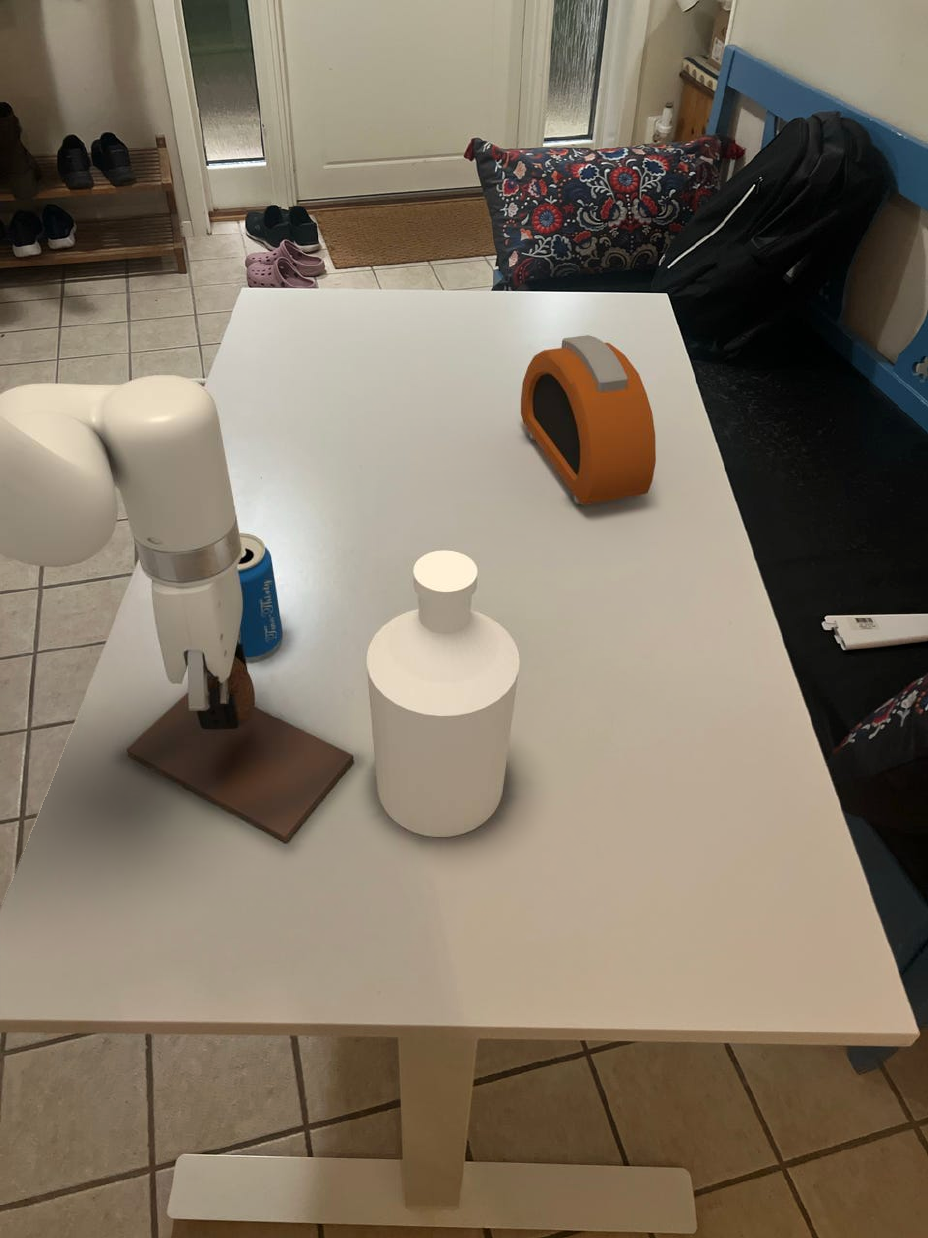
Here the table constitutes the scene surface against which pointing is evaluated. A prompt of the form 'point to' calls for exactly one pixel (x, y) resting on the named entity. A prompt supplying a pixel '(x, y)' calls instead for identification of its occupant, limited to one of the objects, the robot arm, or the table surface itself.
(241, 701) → the coconut
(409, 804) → the bottle
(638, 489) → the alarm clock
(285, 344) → the table surface
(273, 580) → the beverage can
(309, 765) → the walnut board
